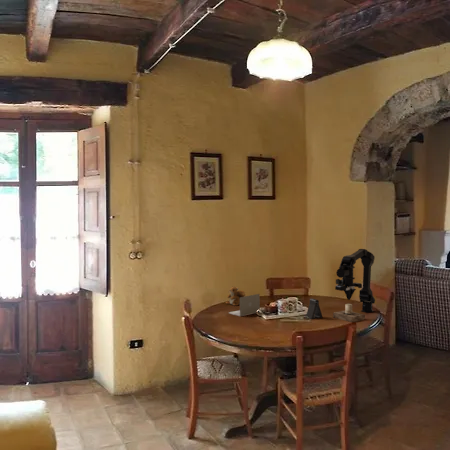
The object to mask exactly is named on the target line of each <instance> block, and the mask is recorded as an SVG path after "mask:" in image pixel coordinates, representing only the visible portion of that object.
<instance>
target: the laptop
mask: <svg viewBox="0 0 450 450" xmlns="http://www.w3.org/2000/svg"><path fill="white" fill-rule="evenodd" d="M260 299H261V298H260V293H256V294H250V295H245V296H244V297H240V303H239V310H235V311H230V312H229V311H228V314H230V315H233V316H238V317H243V316H244V317H245V316H247V315H252V314H257V313H256V311H257V310H258V309H260V308H261V307H260V306H261V304H260V302H261V301H260ZM260 310H261V309H260Z"/></svg>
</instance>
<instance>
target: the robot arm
mask: <svg viewBox="0 0 450 450" xmlns="http://www.w3.org/2000/svg"><path fill="white" fill-rule="evenodd" d="M359 259H360V261H361V264H362V266H363V267H362V268H363V270H362V271H363V273H362V283H361V282H354V280H355V279H356V277H354V269H355V268H356V267H355V266H354V265H355V264H356V263H357V262H356V261H357V260H359ZM374 263H375V255H374V254H373V253H372V252H370V251H368V250H367V249H365V248H358V249H357V250H356V251H355V252H353V253H352V254H347V255H344V256H343V257H342V259H341V262H340V264H339V267H338V269H337V270H336V276H337V277H338V278H337V279H335V284H336V285H335V286H334V289H335V290H336V291H341V292H344V293H345V296H346V299H347V300H348V301H350V300H351V299H352V297H353V295H354V293H355V291H357V288H358V289H360V290H359V294H358V298H359V302H360V303H362V306H361V310H360V312H364V313H367V314H368V313H374V312H375V310H373V304H376V299H375V297H374V295H373V291H372V288H371V277H372V275H371V274H372V266H373V265H374Z"/></svg>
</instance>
